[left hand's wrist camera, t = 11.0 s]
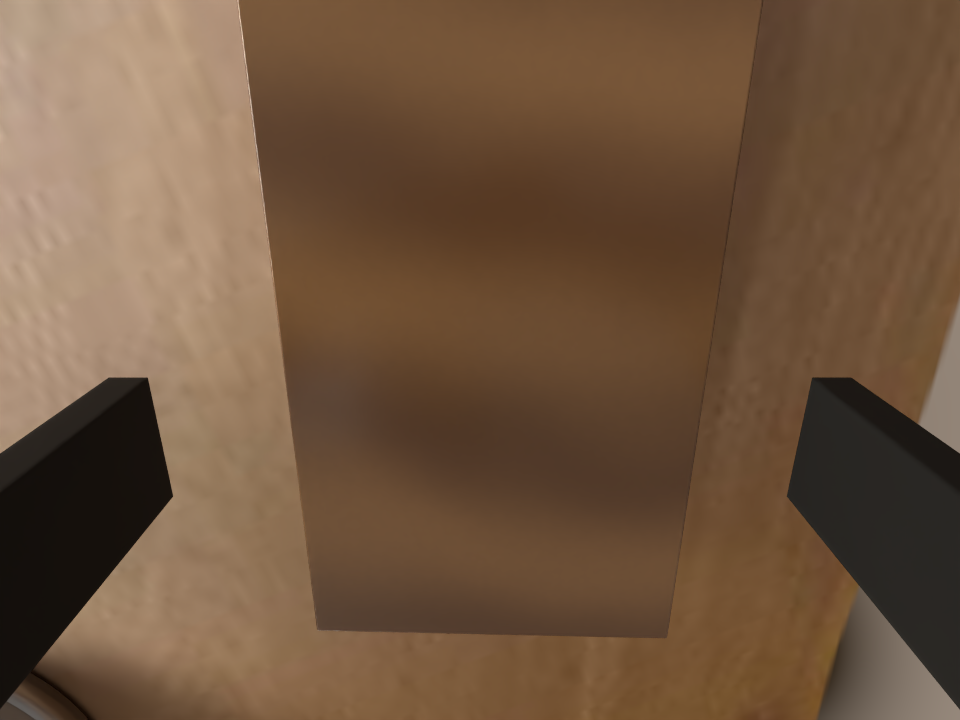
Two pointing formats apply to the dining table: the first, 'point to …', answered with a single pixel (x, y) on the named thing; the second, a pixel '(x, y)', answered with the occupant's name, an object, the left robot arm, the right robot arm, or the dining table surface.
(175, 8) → the dining table surface
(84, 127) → the dining table surface
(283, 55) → the wooden beam
